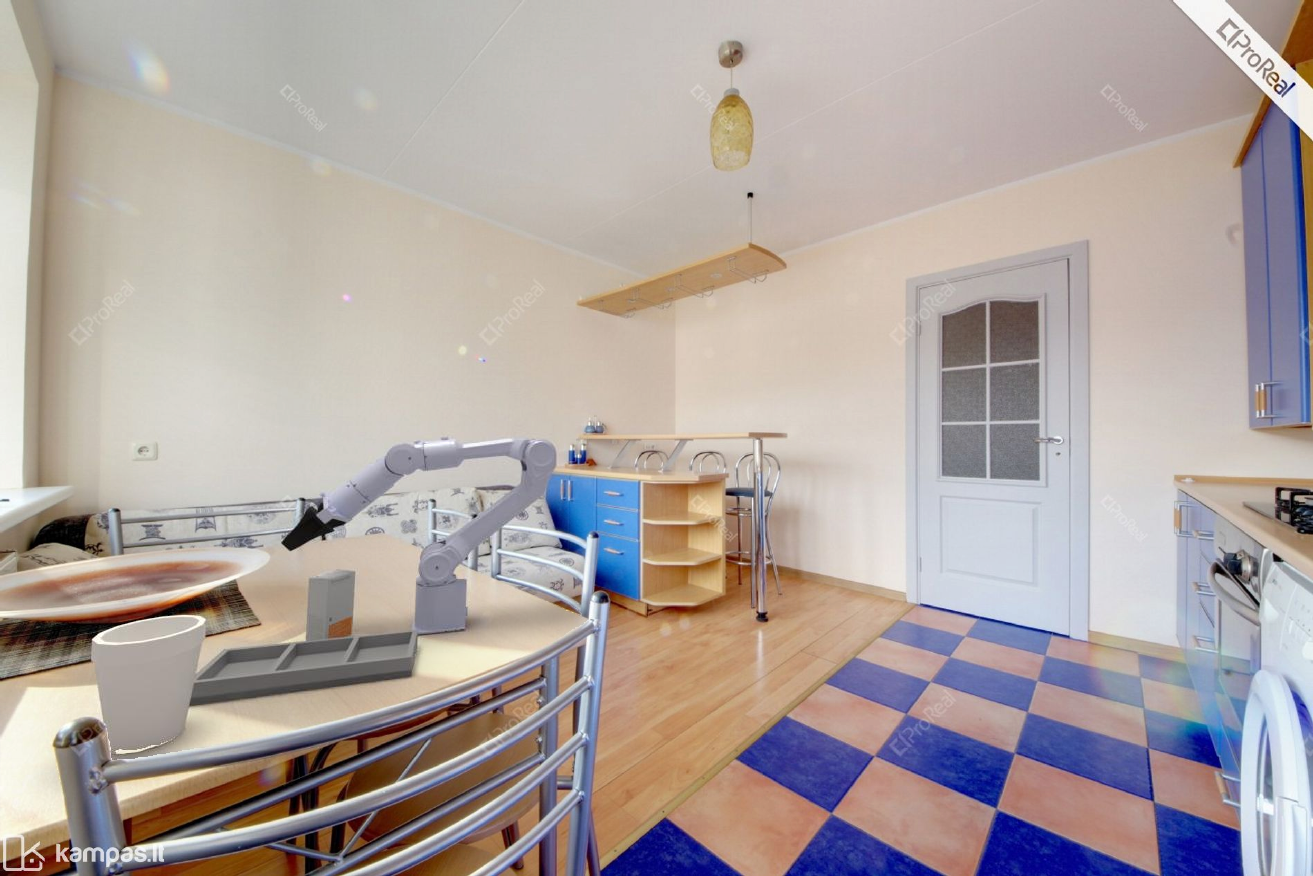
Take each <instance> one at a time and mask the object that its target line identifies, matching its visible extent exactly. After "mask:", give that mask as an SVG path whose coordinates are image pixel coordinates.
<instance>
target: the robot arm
mask: <svg viewBox="0 0 1313 876" xmlns="http://www.w3.org/2000/svg"><path fill="white" fill-rule="evenodd" d="M496 457H508V458H511V459H514V460H518V461H520V464H521V475H520V483H519V484H518V485H516V486H515V487H513V489H511V490H510V491H509V492H507V493H506V494H505V495H503V496H502V497H500V498H499V499H498V500H496V501H495V502H494V503H492V504H491V505H490V506H489V507H487V508H486V509H484V510H483V511H482V512H481V513H479V514H478V515H477V516H476V517H474V518H473V519H471V520H470V521H469V522H468V523H466V524H464V525H463V526H462V527H461V528H459V529H458V530H457V531H455V532H453V533H451V534H449V535H447V536H446V537H445V538H443V539H442V540H439V541H434V542H432V543H429V544H428V545H426V546H425V547H424V548H423V549H422V551H421V553H420V555H419V556H420V557H419V564H418V569H417V570H418V571H417V572H418V574H419V576H418V577H417V578H416V579H415V600H414V601H415V604H414V619H413V621H412V625H411V629H410V630H418V635H427V634H435V633H436V634H437V633H445V631H447V632H456V631H455V630H457V631H460V630H459V629H464V630H466V617H468V611H469V609H468V606H467V585H468V584H467V581H468V580H467V578H457V574H456V573H454V572H455V571H456V569H457V568H458V567H459V566H460V565H461V564H462V563H463V562H464V561H465V560H466V559H467V557H469V555H470V553H471V552H472V551H473V550H475V549H476V548H477V547H479V546H480V545H481V544H482V543H484V542H485V541H486V540H488V539H489V538H491V537H492V536H493V535H494V534H495V533H496V532H498V531H499V530H500V529H502V528H503V527H504V526H505V525H507V524H508V523H510V522H511V521H512V520H513V519H515V518H516V517H517V516H518V515H520V514H521V513H522V512H523V511H524V510H526V509H527V508H529V507H530V506H531V505H533V504H534V503H535V502H537V500H539V499H540V498H541V497H543V496H544V494H545V493H546V491H547V487H548V484H549V482H550V480H551V477H552V475H553V472H554V471H555V470H556V467H557V450H556V447H555V445H554V444H553V443H552V442H551V441H550V440H548V439H545V438H531V439H529V438H517V437H516V438H515V437H514V438H512V437H511V438H509V437H508V438H501V439H494V440H486V441H479V442H472V443H471V442H470V443H464V444H463V443H461V442H460V441H459V440H458V439H455V438H449V436H448V435H447V436H440V439H438V440H436V439H435V440H426V441H421V440H420V439H414V440H413V444H410V443H408V442H403V443H401V444H400V443H399V444H396V445H394V446H392V447H391V448H389V449H388V451H387V453H386V454H385V455H383V456H380V457H379V458H378V459H376V460H375V462H373V463H370V464H368V465H367V466H366V467H365V468H363V469H362V470H361V471H359V472H357V474H355V475H353V476H352V477H351V478H349V480H347V481H346V482H344V483H343V484H342V485H340V486H339V487H337V489H335V490H334V491H333V492H331V493H328V492H327V491H325V490H323V491H321V492H319V496H320V497H321V498H322V502H321V503H320V505H319V507H318V509H316V508H315V507H314V505H312V506H309V507H308V508H307V509H306V510H305V511H304V513H303V516H302V517H301V519H300V521H299V522H298V523H297V524H296V525H295V527H294V528H293V529H292V530H291V531H290V532H289V533H288V534H287V535H286V536H285V537H284V539H283V540H282V541H281V542H280V543H281V544H282V546H284V547H285V548H286V549H287V550H288V551H289V552H292V551H295V550H296V549H298V548H301V547H302V546H304V545H306V544H307V543H309V542H310V541H312V540H315V539H316V538H318V537H321V536H325V535H328V534H331V533H334V532H335V531H336V530H335V528H337V527H341V526H344V525H346V524H347V523H350V522H351V521H353V518H355V517H356V516H357V515H358V514H360V513H361V512H362V511H363V510H365V509H366V508H368V507H369V506H370V505H371V504H373V503H374V502H375V501H377V499H379V498H380V497H382V496H383V495H384V494H385V493H387V492H388V491H389V490H390V489H392V488H393V487H394V486H395V484H396V483H397V482H399V481H400V480H401V479H403V477H404V476H405V475H406V476H410V475H411V474H414V473H415V472H416V471H417V470H421V471H422V472H429V471H436V470H437V471H438V470H445V469H452V468H458V467H460V466H461V464H462V462H463V461H464V460H471V459H473V460H474V459H475V460H476V459H485V458H496ZM281 544H280V545H281Z"/></svg>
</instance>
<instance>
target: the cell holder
mask: <svg viewBox="0 0 1313 876" xmlns="http://www.w3.org/2000/svg"><path fill="white" fill-rule="evenodd" d="M418 636H419V634H418V630H411V629H410V630H400V631H398V630H397V631H389V632H380V633H371V634H370V633H369V634H360V635H352V636H349V637H339V638H329V639H319V640H309V641H306V640H300V641H293V642H282V643H281V642H280V643H273V644H272V643H271V644H263V645H260V644H259V645H252V646H241V647H233V648H224V649H223V650H222V651H220V652H219V653H217V655H216V656H214V658H212V659H211V660H210V661H209V662H208V663H207V664H206V665H205V666H203V667H202V668H201V669H200V670H199V671H197V672H196V675H195V680H194V685H193V690H192V695H191V699H190V704H189V707H191V706H197V705H198V706H199V705H206V704H212V703H221V702H229V701H234V700H235V701H236V700H242V699H243V700H244V699H249V698H250V699H251V698H259V697H265V696H274V695H281V694H288V693H289V694H290V693H295V692H303V691H304V692H305V691H310V690H311V691H312V690H319V689H327V688H334V687H340V686H349V685H356V684H364V683H370V682H378V681H385V680H388V681H389V680H395V679H401V678H403V679H404V678H410V677H412V672H413V669H414V663H415V660H416V659H415V658H416V655H417V650H416V649H418ZM415 654H416V655H415Z"/></svg>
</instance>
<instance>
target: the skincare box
mask: <svg viewBox="0 0 1313 876" xmlns="http://www.w3.org/2000/svg"><path fill="white" fill-rule="evenodd" d="M355 584H356V571H355V570H347V569H335V570H330V571H326V572H322V573H320V574H317V575H314V576H310V577H309V578H308V587H307V588H308V592H307V609H306V611H307V613H306V627H305V629H306V630H305V641H309V640H319V639H329V638H339V637H349V636H353V626H354V625H353V624H354V606H355Z"/></svg>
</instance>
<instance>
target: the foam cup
mask: <svg viewBox="0 0 1313 876" xmlns="http://www.w3.org/2000/svg"><path fill="white" fill-rule="evenodd" d="M206 625H207V619H206V618H204V617H203V616H201V615H191V614H190V615H189V614H181V615H180V614H178V615H169V616H168V615H165V616H159V617H154V618H147V619H142V620H136V621H133V622H132V621H131V622H128V623H125V624H121V625H117V626H114V627H112V628H111V627H110V628H109V629H106V630H104V631H102V632H99V633H98V634H97V635H95V636H94V637H93V638H92V639H91V651H90V652H91V654H90V655H91V656H90V657H91V658H90V661H91V662H92V663H93V664H94V671H95V676H96V682H97V683H96V684H97V688H98V689H97V690H98V697H99V702H100V708H101V714H102V721H103V724H104V723H105V724H106V728H107V732H108V739H109V741H110V747H111V752H112V753H111V752H110V753H111V755H117V754H116V752H115V751H116V750H119V749H122V750H137V749H142V748H146V747H148V746H151V745H160V744H161V743H164V742H166V741H169V740H171V739H173V738H174V737H176V736H177V735H178V736H180V735H181V734H183V732H184V730H185V724H186V723H187V717H188V714H189V708H190V706H189V704H190V699H191V695H192V690H193V685H194V680H195V675H196V674H197V671H198V664H199V660H200V654H201V651H202V650H201V649H202V645H203V643H204V641H205V638H206V630H207V629H206V627H207V626H206ZM179 734H180V735H179ZM178 736H177V737H178ZM177 737H176V738H177ZM174 739H175V738H174ZM174 739H173V740H174ZM171 741H172V740H171ZM169 742H170V741H169ZM160 746H161V745H160ZM121 755H123V756H125V755H124V754H121ZM121 755H120V756H121Z"/></svg>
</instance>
